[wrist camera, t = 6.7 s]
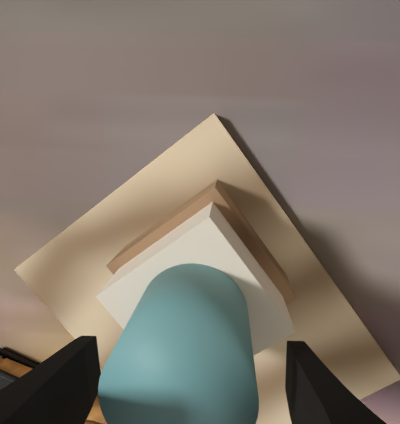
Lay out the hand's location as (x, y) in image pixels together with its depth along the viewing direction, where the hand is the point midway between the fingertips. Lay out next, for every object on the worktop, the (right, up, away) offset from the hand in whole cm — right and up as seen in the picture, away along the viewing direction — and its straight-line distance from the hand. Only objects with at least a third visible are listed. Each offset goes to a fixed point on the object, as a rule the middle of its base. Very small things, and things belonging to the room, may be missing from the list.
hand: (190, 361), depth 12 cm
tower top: (0, +2, +4) cm, 5 cm away
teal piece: (0, +1, +1) cm, 2 cm away
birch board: (+1, -1, +9) cm, 9 cm away
